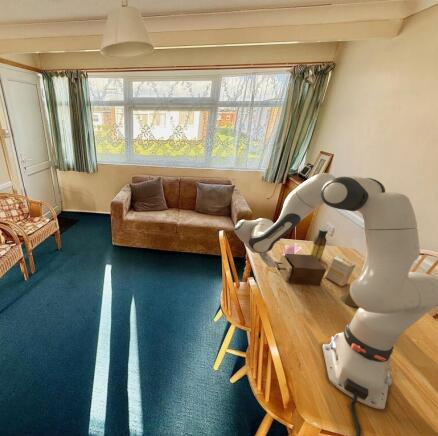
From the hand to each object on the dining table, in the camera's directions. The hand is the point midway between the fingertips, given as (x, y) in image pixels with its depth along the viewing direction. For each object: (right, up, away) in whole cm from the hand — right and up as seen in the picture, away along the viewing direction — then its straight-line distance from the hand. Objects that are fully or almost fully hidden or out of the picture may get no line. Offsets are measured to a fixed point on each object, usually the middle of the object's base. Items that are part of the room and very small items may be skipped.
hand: (271, 260), depth 123 cm
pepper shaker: (+30, -17, -15) cm, 37 cm away
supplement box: (+34, -11, -1) cm, 35 cm away
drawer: (+11, -8, +2) cm, 14 cm away
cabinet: (+16, -9, +2) cm, 19 cm away
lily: (+21, -2, +18) cm, 28 cm away
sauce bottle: (+36, -2, +18) cm, 40 cm away
